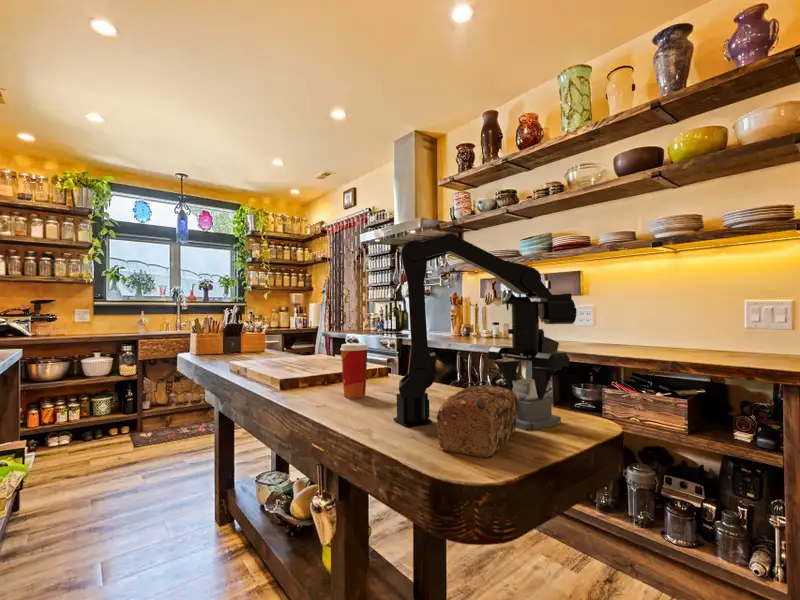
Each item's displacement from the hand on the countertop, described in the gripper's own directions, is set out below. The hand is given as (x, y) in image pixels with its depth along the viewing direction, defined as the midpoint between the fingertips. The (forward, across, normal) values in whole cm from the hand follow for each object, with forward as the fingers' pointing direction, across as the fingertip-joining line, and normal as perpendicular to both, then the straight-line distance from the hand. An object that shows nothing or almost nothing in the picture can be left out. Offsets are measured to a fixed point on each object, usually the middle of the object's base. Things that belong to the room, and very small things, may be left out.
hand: (526, 395), depth 88 cm
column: (+6, 0, 0) cm, 6 cm away
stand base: (+6, 0, 0) cm, 6 cm away
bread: (+6, -4, +17) cm, 19 cm away
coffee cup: (+6, +44, +23) cm, 50 cm away
